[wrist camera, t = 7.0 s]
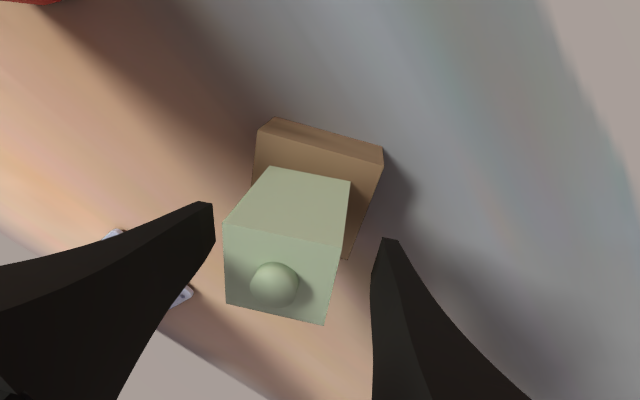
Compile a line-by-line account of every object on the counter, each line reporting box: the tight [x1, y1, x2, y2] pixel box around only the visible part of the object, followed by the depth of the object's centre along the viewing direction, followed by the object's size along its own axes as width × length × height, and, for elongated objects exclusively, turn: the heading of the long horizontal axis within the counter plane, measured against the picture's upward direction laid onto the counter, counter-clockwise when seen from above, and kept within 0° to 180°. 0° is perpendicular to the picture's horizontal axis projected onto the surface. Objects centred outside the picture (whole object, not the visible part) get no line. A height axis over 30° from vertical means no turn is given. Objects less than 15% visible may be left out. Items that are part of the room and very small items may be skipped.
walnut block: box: [251, 117, 384, 260], centre depth 15 cm, size 6×6×3 cm
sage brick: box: [222, 165, 351, 326], centre depth 12 cm, size 4×4×6 cm
